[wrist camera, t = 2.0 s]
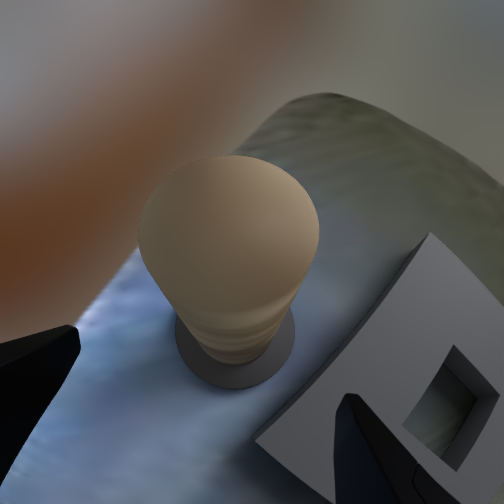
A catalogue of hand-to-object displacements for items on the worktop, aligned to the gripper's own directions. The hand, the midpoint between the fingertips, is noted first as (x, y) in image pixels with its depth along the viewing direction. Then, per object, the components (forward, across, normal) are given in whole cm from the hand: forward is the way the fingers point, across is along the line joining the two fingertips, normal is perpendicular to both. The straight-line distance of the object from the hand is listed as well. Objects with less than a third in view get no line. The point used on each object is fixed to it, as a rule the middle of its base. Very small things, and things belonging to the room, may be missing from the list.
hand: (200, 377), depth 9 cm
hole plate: (+8, -16, +8) cm, 20 cm away
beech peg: (+10, 0, +5) cm, 11 cm away
